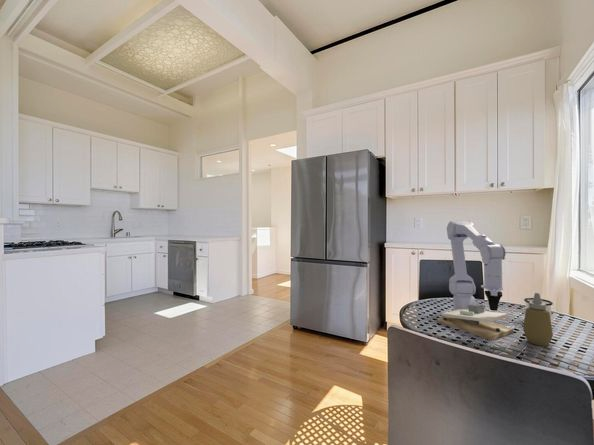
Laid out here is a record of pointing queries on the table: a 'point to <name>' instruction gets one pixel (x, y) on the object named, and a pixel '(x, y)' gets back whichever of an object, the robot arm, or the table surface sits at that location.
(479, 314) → the level plate
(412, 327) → the table surface
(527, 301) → the mug
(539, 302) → the squeeze bottle
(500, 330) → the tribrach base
